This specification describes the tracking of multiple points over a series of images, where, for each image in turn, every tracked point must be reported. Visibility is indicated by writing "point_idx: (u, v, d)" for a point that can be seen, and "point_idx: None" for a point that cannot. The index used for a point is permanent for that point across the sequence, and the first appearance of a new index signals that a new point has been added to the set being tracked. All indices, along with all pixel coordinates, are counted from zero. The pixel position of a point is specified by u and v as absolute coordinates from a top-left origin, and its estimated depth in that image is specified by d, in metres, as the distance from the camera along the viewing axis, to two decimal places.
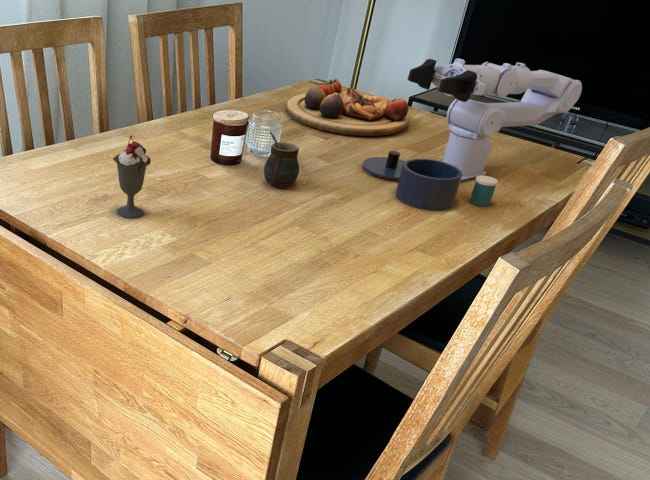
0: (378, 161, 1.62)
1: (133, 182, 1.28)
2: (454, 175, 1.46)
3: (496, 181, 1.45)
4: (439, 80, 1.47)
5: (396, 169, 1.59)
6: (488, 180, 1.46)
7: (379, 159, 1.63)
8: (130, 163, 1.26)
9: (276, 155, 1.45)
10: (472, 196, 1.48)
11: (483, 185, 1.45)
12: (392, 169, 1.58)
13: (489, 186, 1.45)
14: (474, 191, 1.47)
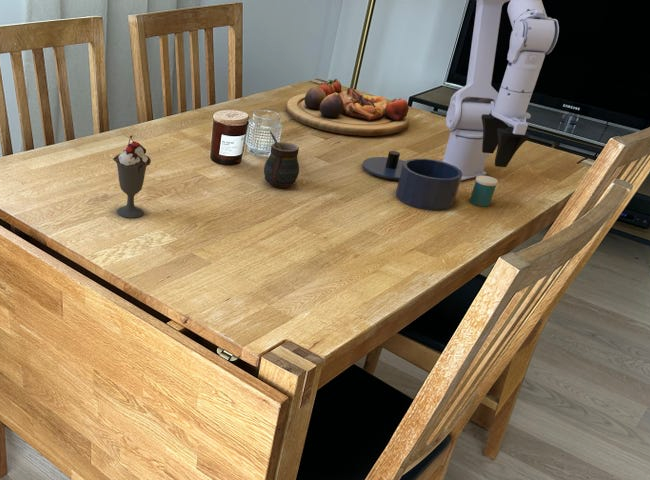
0: (378, 161, 1.62)
1: (133, 182, 1.28)
2: (454, 175, 1.46)
3: (496, 181, 1.45)
4: None
5: (396, 169, 1.59)
6: (488, 180, 1.46)
7: (379, 159, 1.63)
8: (130, 163, 1.26)
9: (276, 155, 1.45)
10: (472, 196, 1.48)
11: (483, 185, 1.45)
12: (392, 169, 1.58)
13: (489, 186, 1.45)
14: (474, 191, 1.47)
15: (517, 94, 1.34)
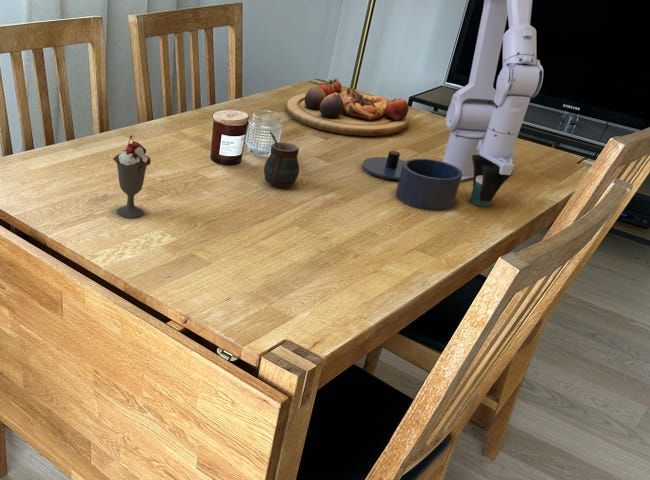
0: (378, 161, 1.62)
1: (133, 182, 1.28)
2: (454, 175, 1.46)
3: None
4: None
5: (396, 169, 1.59)
6: None
7: (379, 159, 1.63)
8: (130, 163, 1.26)
9: (276, 155, 1.45)
10: (472, 196, 1.48)
11: None
12: (392, 169, 1.58)
13: None
14: (474, 191, 1.47)
15: (503, 136, 1.38)
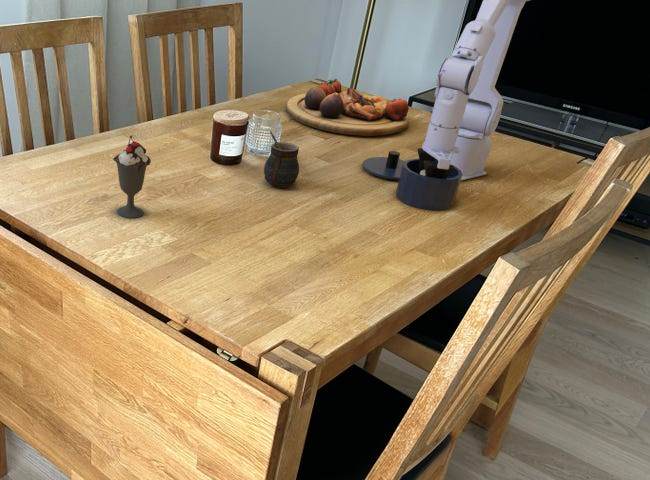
0: (378, 161, 1.62)
1: (133, 182, 1.28)
2: (454, 175, 1.46)
3: None
4: None
5: (396, 169, 1.59)
6: None
7: (379, 159, 1.63)
8: (130, 163, 1.26)
9: (276, 155, 1.45)
10: None
11: None
12: (392, 169, 1.58)
13: None
14: None
15: (443, 130, 1.38)
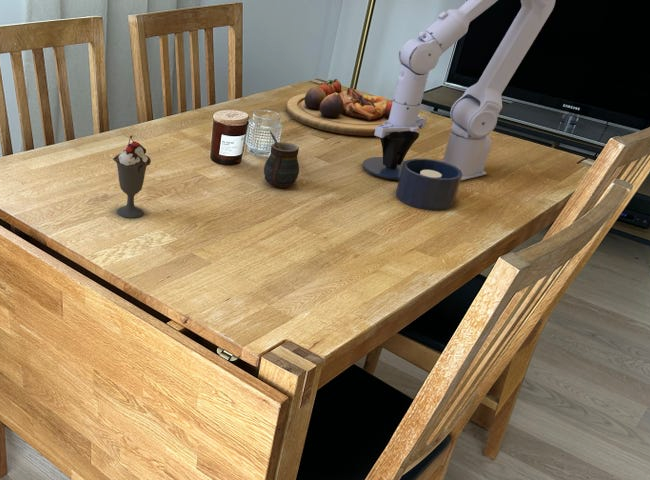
0: (378, 161, 1.62)
1: (133, 182, 1.28)
2: (454, 175, 1.46)
3: (440, 175, 1.45)
4: None
5: (396, 169, 1.59)
6: (431, 174, 1.45)
7: (379, 159, 1.63)
8: (130, 163, 1.26)
9: (276, 155, 1.45)
10: None
11: None
12: (392, 169, 1.58)
13: None
14: None
15: (395, 104, 1.51)
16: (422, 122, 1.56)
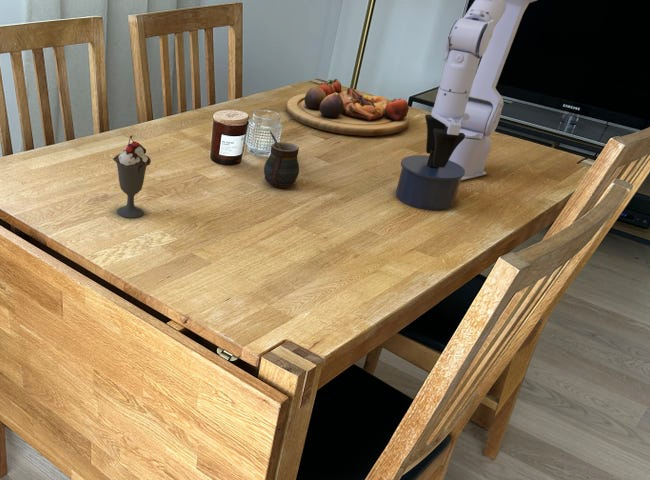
0: (414, 164, 1.45)
1: (133, 182, 1.28)
2: None
3: None
4: None
5: (441, 167, 1.45)
6: None
7: (409, 161, 1.46)
8: (130, 163, 1.26)
9: (276, 155, 1.45)
10: None
11: None
12: (440, 168, 1.44)
13: None
14: None
15: (453, 94, 1.34)
16: None
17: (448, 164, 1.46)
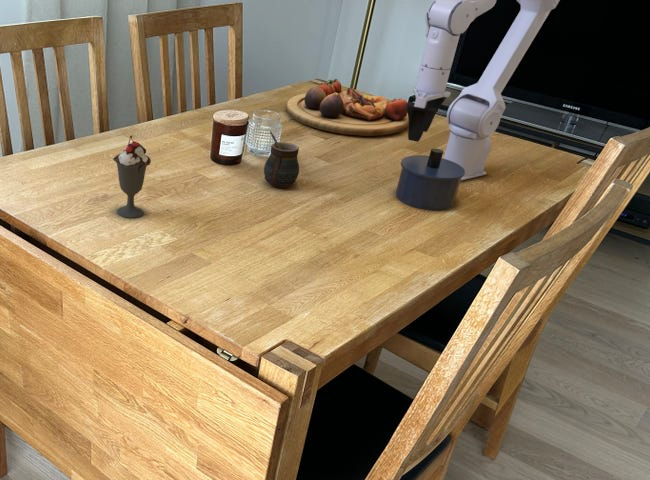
0: (414, 164, 1.45)
1: (133, 182, 1.28)
2: None
3: None
4: None
5: (441, 167, 1.45)
6: None
7: (409, 161, 1.46)
8: (130, 163, 1.26)
9: (276, 155, 1.45)
10: None
11: None
12: (440, 168, 1.44)
13: None
14: None
15: (428, 70, 1.40)
16: None
17: (448, 164, 1.46)
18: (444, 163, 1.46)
